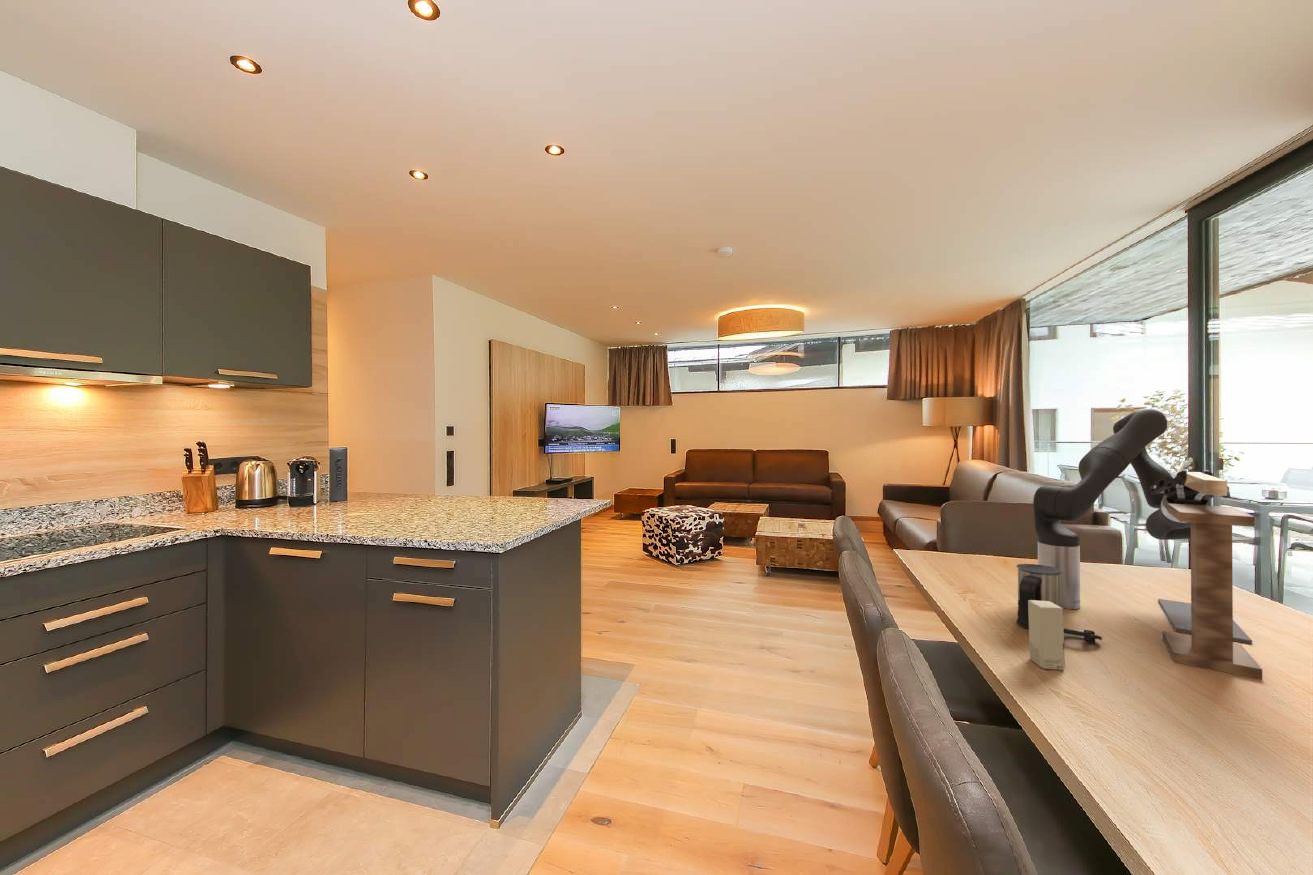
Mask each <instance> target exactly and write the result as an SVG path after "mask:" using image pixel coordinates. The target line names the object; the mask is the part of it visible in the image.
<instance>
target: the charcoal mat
mask: <svg viewBox="0 0 1313 875" xmlns="http://www.w3.org/2000/svg"><path fill="white" fill-rule="evenodd" d="M1157 601H1158V603H1159V605H1160V607H1161V608H1162V610H1163V612H1164V614H1165V616H1166V617H1167V619H1168V620H1169V622H1170V624H1171V626H1172V627H1173V629H1174V630H1175V632H1179V633H1184V634H1191V602H1185V601H1178V600H1169V599H1165V598H1158V599H1157ZM1233 642H1237V643H1243V644H1249V645H1253V640H1252V638H1251V637H1250V636H1249V635H1248V634H1247V633H1246V632H1245V631H1244V630H1243V628H1241V627H1240V626H1239V625H1238V624H1237V622H1236V621H1235V620H1234V619H1233Z"/></svg>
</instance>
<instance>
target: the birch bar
mask: <svg viewBox="0 0 1313 875" xmlns="http://www.w3.org/2000/svg"><path fill="white" fill-rule="evenodd" d="M1184 485H1185V486H1187V487H1189V488H1191V489H1193V490H1196V491H1198V492H1200V493H1202V494H1204V495H1216V496H1218V495H1221V496H1220V497H1222V496H1227V486H1228V480H1225V479H1224V478H1223V479H1222V478H1219V477H1216V476H1214V475H1213V476H1210V475H1207V474H1203V472H1200V471H1187V479H1186V482H1185V484H1184Z"/></svg>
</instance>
